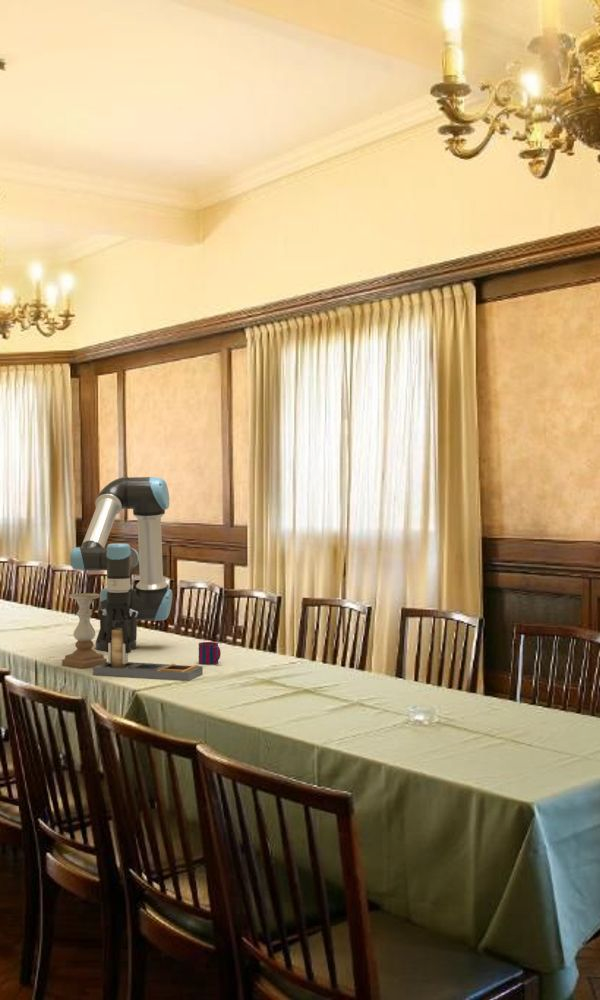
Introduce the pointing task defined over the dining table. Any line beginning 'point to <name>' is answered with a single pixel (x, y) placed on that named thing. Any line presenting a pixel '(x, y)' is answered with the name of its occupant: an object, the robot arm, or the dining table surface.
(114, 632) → the peg
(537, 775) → the dining table surface
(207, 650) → the mug
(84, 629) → the candle holder
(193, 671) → the grey peg board
